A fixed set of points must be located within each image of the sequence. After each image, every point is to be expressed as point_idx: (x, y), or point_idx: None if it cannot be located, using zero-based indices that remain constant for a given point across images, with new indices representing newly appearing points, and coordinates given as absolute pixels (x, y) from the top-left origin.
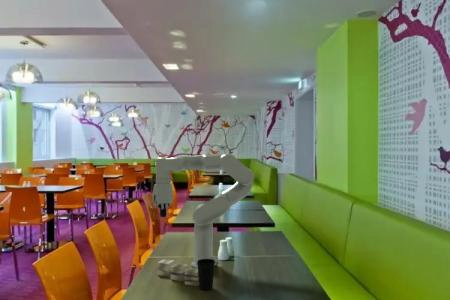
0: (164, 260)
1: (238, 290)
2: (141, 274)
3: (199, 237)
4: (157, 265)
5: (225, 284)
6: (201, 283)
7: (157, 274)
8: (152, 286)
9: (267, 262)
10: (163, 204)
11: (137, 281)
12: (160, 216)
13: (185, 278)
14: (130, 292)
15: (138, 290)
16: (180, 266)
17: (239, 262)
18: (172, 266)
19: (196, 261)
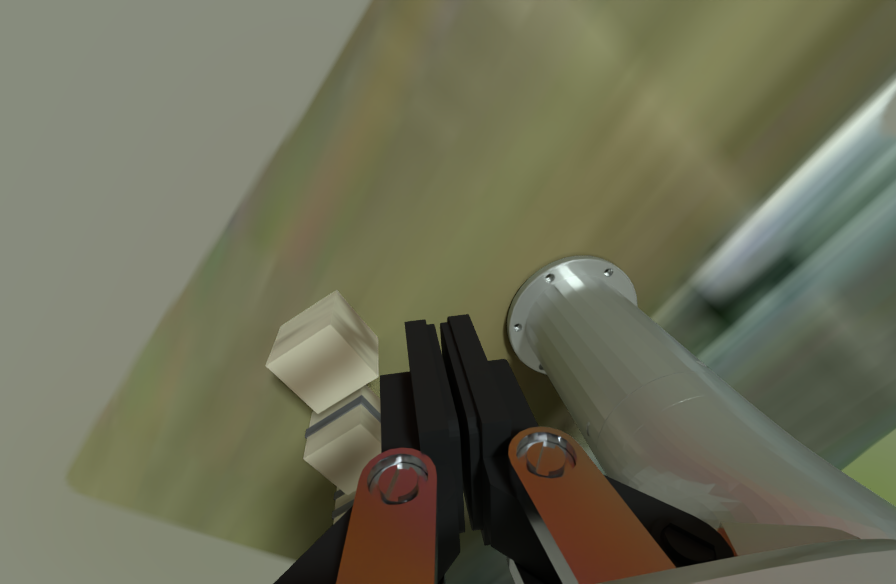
0: (327, 348)
1: (459, 580)
2: (197, 272)
3: (598, 461)
4: (270, 356)
5: (464, 533)
6: None
7: (280, 328)
8: (197, 447)
9: (777, 421)
10: (558, 575)
11: (142, 361)
12: (405, 325)
13: (337, 504)
14: (75, 465)
15: (118, 461)
16: (352, 473)
17: (713, 367)
18: (315, 457)
19: (531, 338)
